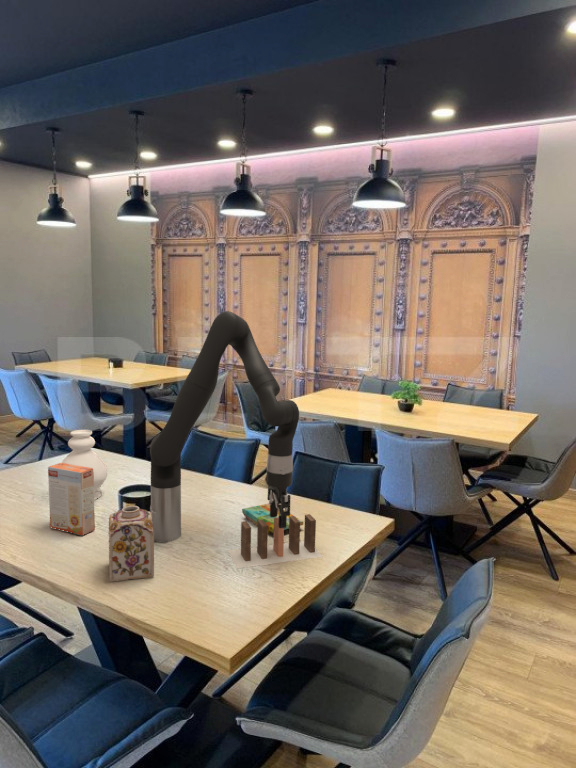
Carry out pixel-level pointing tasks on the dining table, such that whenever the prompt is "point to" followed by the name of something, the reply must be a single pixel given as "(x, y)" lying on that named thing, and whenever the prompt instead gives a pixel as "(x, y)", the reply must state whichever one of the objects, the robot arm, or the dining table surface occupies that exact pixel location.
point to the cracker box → (71, 498)
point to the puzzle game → (264, 516)
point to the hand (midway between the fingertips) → (277, 522)
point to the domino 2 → (262, 539)
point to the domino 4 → (294, 534)
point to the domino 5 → (309, 533)
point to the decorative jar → (131, 544)
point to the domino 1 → (246, 541)
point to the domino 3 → (278, 539)
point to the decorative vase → (86, 457)
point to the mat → (272, 556)
